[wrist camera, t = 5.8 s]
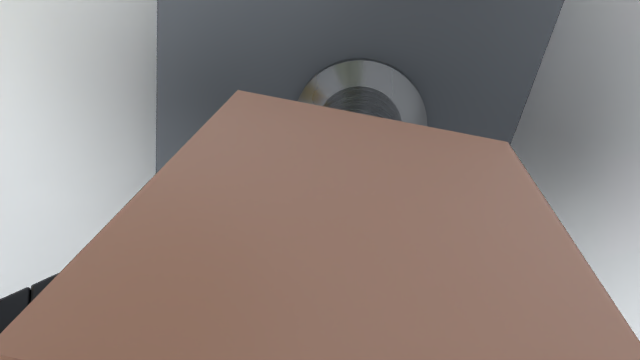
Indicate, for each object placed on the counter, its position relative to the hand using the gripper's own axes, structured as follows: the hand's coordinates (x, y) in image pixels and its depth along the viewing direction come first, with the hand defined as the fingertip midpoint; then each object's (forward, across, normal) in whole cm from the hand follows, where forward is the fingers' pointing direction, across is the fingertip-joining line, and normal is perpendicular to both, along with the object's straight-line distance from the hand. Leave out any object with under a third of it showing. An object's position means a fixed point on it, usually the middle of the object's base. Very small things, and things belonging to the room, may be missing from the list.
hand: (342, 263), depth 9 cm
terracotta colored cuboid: (+1, 0, 0) cm, 1 cm away
